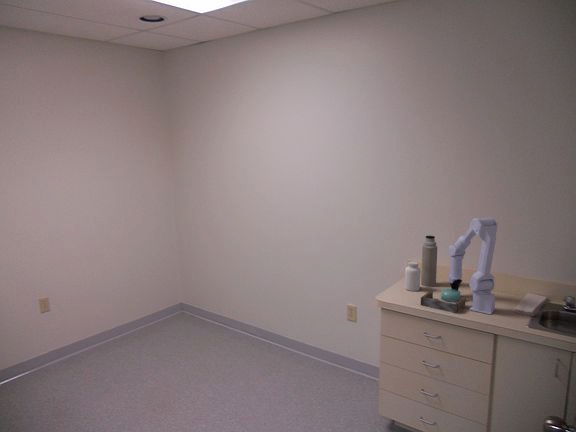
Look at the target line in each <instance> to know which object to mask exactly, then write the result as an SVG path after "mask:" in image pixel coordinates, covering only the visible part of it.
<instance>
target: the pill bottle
mask: <svg viewBox="0 0 576 432" xmlns="http://www.w3.org/2000/svg"><path fill="white" fill-rule="evenodd" d="M404 274H405V275H404V289H405V290H406V291H409V292H419V291H420V288H421V268H420V267H419V262H417V261H409V262H408V263H407V266H406V267H405V271H404Z"/></svg>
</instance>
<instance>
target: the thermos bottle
mask: <svg viewBox="0 0 576 432" xmlns="http://www.w3.org/2000/svg"><path fill="white" fill-rule="evenodd" d="M421 247H422V248H421V249H422V250H421V251H422V252H421V273H420V286H421V285H422V286H423V287H429V288H432V287H436V285H437V270H438V269H437V264H438V245H437V242H436V239H435V236H434V235H426V236H425V240H424V241H423V245H422V246H421Z"/></svg>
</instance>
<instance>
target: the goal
mask: <svg viewBox="0 0 576 432" xmlns="http://www.w3.org/2000/svg"><path fill="white" fill-rule="evenodd" d="M466 302H467V300H466V297H462V298H460V300H459V301H458V302H455V303H454V302H447V301H444V300H438V299H434V291H432V290H430V291H428V292H426V293H425V294H424V295H422V296H420V306H422V307H426V308H427V307H428V308H431V309H435V310H440V311H444V312H449V313H453V314H458V313H459V312H460V311H461V310H462V309H463V308H465V306H466Z"/></svg>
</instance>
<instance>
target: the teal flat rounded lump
mask: <svg viewBox="0 0 576 432" xmlns="http://www.w3.org/2000/svg"><path fill="white" fill-rule="evenodd" d="M440 294H441V295H440V299H441V301H444V302H449V303H457V302H458V301H459V300H461V291H460V290H459V289H458V290H455V289H452V288H443V289H441V293H440Z"/></svg>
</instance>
